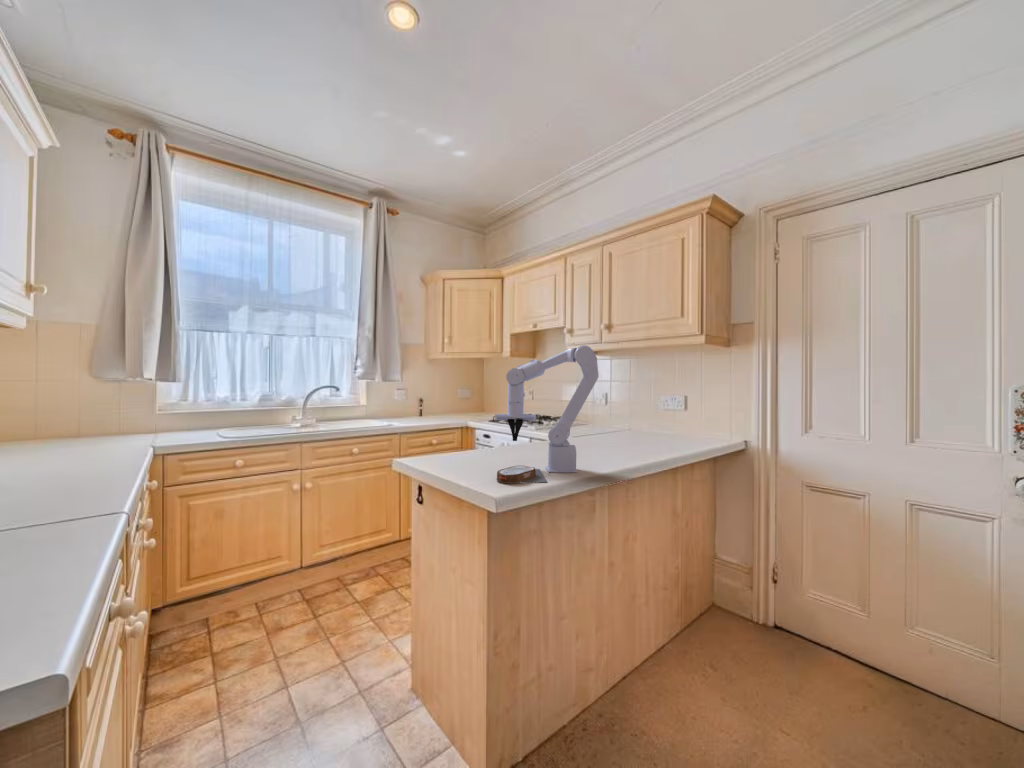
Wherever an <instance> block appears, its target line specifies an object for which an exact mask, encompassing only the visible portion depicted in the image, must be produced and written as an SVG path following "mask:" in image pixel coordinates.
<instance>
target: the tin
mask: <svg viewBox="0 0 1024 768" xmlns="http://www.w3.org/2000/svg"><path fill="white" fill-rule="evenodd" d="M535 469H536V468H535V467H533V466H527V465H524V464H523V465H521V464H519V465H513V466H509V467H505V468H502V469H499V470H497V471H496V481H497V482H499V483H503V484H521V483H520V482H523V481H526V480H529V479H532V478H535V477H536V470H535Z"/></svg>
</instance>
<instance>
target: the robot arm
mask: <svg viewBox="0 0 1024 768" xmlns="http://www.w3.org/2000/svg"><path fill="white" fill-rule="evenodd" d="M595 353H596V352H595V351H594V349H592V347H590V346H589V345H585V344H584V345H580V346H577V347H573V348H570V349H567V350H564V351H562V352H560V353H557V354H555V355H553V356H551V357H548V358H547V359H545V360H539V359H534V358H533V359H530V360H529V361H530V362H528V363H525V364H523V365H521V364H519V365H518V366H517V367H512V368H511V369H510V370H508V371H507V373H506V375H505V377H506V381H507V382H508V383H507V406H506V407H507V413H502V414H501V413H500V414H498V413H496V414H494V421H507V424H508V426H509V429H510V432H511V435H512V437H511V438H512V442H517V441H518V437H519V433H520V431H521V428H522V426H523V424H524V421H533V422H534V421H536V422H537V415H536V414H526V413H524V401H525V400H524V396H525V395H524V393H525V390H524V384H525V382H528V381H530V380H534V379H535V378H536V379H537V377H540V376H543V375H544V373H545V371H547V370H548V369H551V368H554V367H556V366H559V365H561V364H565V363H577V365H579V367H580V370H581V373H582V375H583V377H582V379H581V380H580V382H579V384H578V386H577V388H576V389H575V391H574V394H573V395H572V396H571V398H570V400H569V402H568V404H567V405H566V407H565V409H564V411H563V413H562V415H561V416H560V418H559V419H558V421H557V423H556V425H554V426H553V427H551V428H550V430H549V432H548V433H547V434H548V435H547V437H548V440H549V442H548V455H547V456H548V458H547V460H548V463H547V465H546V466H545V469H546V470H547V471H548V472H549V473H577V447H576V445H574V444H570V442H569V441H568V439H569V437H570V431H571V428H572V426H573V424H574V422H575V420H576V418H577V417H578V415H579V413H580V411H581V409H582V408H583V406H584V405H585V402H586V401H587V399H588V397H589V396H590V394H591V392H592V390H593V389H594V386H595V384H596V383H597V382H598V379H599V367H598V366H599V365H598V358H597V355H596V354H595Z"/></svg>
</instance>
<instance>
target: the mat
mask: <svg viewBox="0 0 1024 768" xmlns="http://www.w3.org/2000/svg"><path fill="white" fill-rule="evenodd" d="M535 470H536V477H535V478H532V479H529V480H526V481H523V482H531V483H530V484H535V483H536V482H537V483H538V482H539V483H538V484H541V483H543V484H546V483H548V480H547V479H546V477H545V476H544V474H543V472H542V470H541V469H540V468H535ZM533 482H535V483H533ZM537 483H536V484H537Z"/></svg>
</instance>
